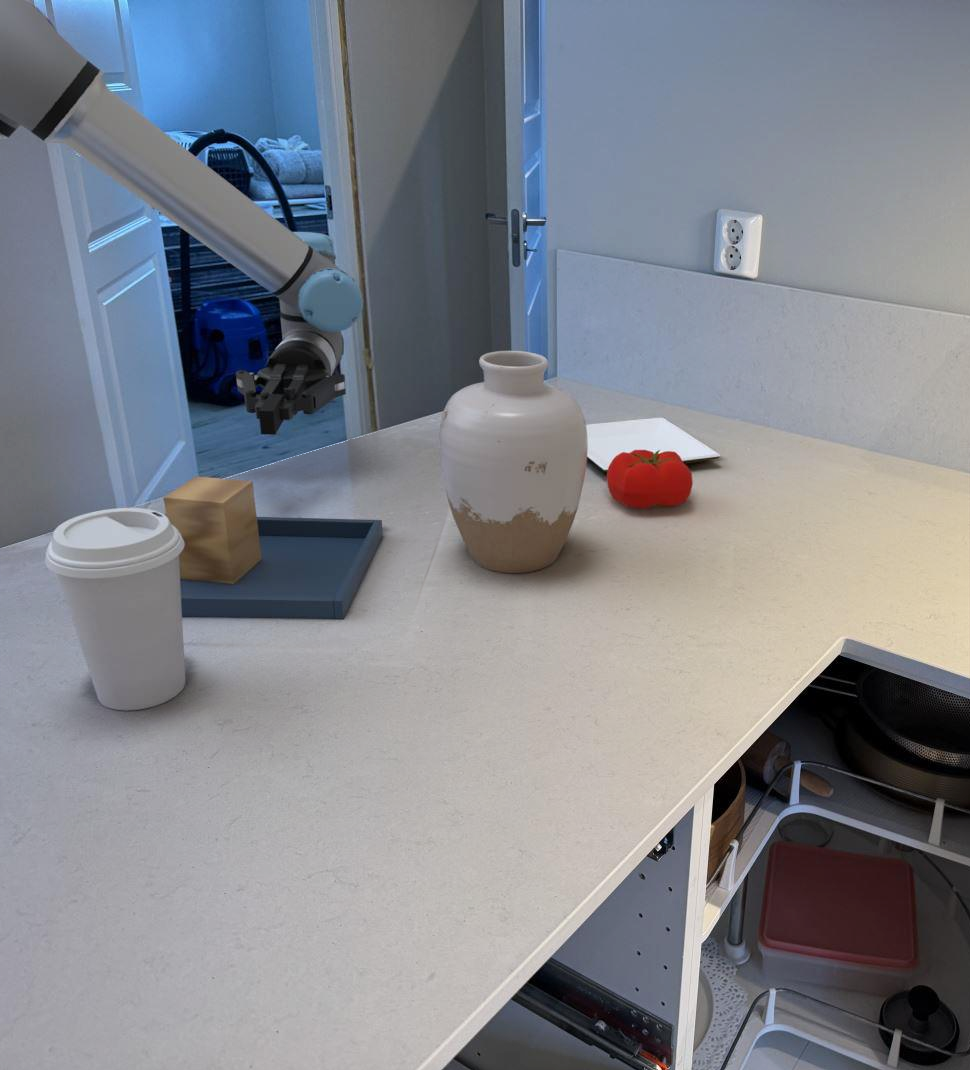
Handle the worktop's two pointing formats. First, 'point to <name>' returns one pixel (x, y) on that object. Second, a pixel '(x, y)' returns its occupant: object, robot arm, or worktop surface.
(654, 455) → the tomato
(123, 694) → the coffee cup
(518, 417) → the vase
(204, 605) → the tray
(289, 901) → the worktop surface
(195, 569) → the block
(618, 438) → the plate
